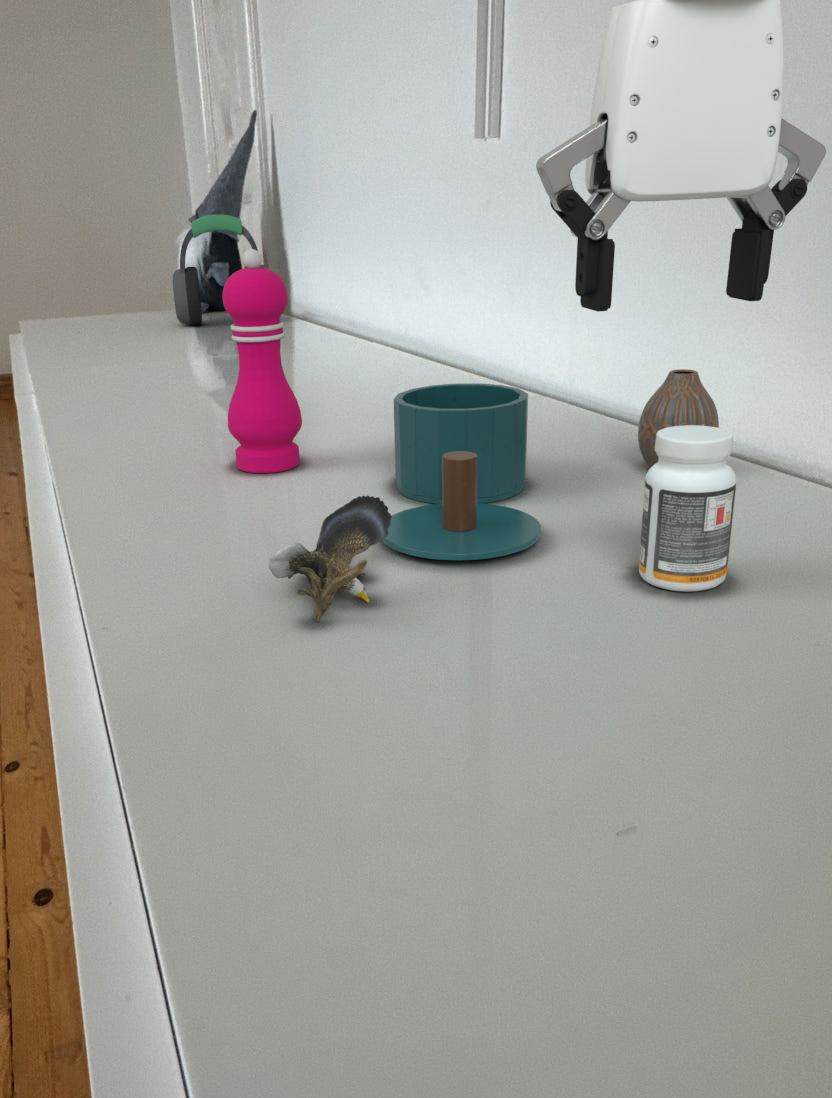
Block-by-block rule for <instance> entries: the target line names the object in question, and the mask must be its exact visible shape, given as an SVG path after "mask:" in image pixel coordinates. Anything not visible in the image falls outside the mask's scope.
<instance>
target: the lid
mask: <svg viewBox="0 0 832 1098" xmlns="http://www.w3.org/2000/svg"><path fill="white" fill-rule="evenodd" d="M477 460H478V456H477V454H476V453H473V452H468V451H454V452H448V453H445V454H443V455H442V504H434V503H431V504H427V505H421V506H416V507H411V508H407V509H404V510H401V511H399V512H397V513H393V514H391V516H392V518H391V521H390V522H391V525H390V527H389V528H388V535H387V537H385V538H384V539H383V540H382V541H381V542H383V543H384V545H385V546H387V547H388V548H390V549H392V550H394V551H397V552H398V553H401V554H405V555H408V556H413V557H416V558H417V557H418V558H422V559H430V560H438V561H439V560H441V561H477V560H486V559H495V558H499V557H504V556H509V555H513V554H516V553H519V552H521V551H524V550H526V549H529V548H530V547H532V546H533V545H535V544H536V543H537V542H538V541H539V539H541V536H542V535H541V534H542V526H541V523H540V521H539V520H538V519H537V518H536V517H534V516H533V515H531V514H529V513H528V512H525V511H522V510H519V509H516V508H513V507H508V506H503V505H499V504H492V503H477Z"/></svg>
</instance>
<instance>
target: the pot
mask: <svg viewBox="0 0 832 1098" xmlns="http://www.w3.org/2000/svg"><path fill="white" fill-rule="evenodd" d="M528 415H529V393H527V392H526V391H525V390H522V389H520V388H518V387H514V386H509V385H503V384H493V383H479V382H478V383H477V382H475V383H473V382H472V383H471V382H470V383H469V382H468V383H443V384H432V385H427V386H420V387H415V388H410V389H408V390H405V391H402V392H399V393H397V395H396V396H395V397H394V398H393V427H394V428H393V429H394V463H395V464H394V466H395V467H394V469H395V470H394V471H395V483H396V489H397V492H398V493H399V494H401V495H402V496H404V497H406V498H408V499H411V500H413V501H418V502H423V503H428V504H442V455H443V454H445V453H448V452H454V451H468V452H473V453H476V454H477V456H478V460H477V503H483V504H490V503H494V502H495V503H496V502H499V501H503V500H507V499H510V498H513V497H515V496H517V495H519V494H521V493H522V492H523V491H524V489H525V486H526V477H527V476H526V475H527V473H526V472H527V450H528V449H527V448H528V447H527V444H528Z"/></svg>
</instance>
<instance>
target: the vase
mask: <svg viewBox="0 0 832 1098" xmlns="http://www.w3.org/2000/svg"><path fill="white" fill-rule="evenodd" d="M686 425H698V426H710V427H717V428H720V421H719V413H718V410H717V407H716V404H715V401H714V400H713V398H712V396H711V395H710V393H709V392H708V391H707V389H706V388H705V386H704V385H703V383H702V381H701V378H700V375H699V372H698V371H697V370H694V369H686V368H685V369H683V368H682V369H681V368H680V369H673V370H670V371H669V372H668V374H667V376H666V378H665V379H664V381H663V382H662V384H661V385H660V386H659V387H658V388H657V389H656V390H655V392H653V394H652V395H651V397H650V398H649V399H648V400H647V402H646V403H645V405H644V408H643V409H642V411H641V414H640V418H639V421H638V429H637V441H638V448H639V452H640V454H641V457H642V458H643V460H644V462H645V463H646V464H647V465H648V467H649V468H651V467H652V466H653V465H654V464H656V463H657V462H658V459H659V456H657V452H656V451H655V442H656V434H657V432H658V431H659V430H661V429H664V428H667V427H674V426H686Z"/></svg>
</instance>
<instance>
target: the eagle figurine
mask: <svg viewBox="0 0 832 1098" xmlns="http://www.w3.org/2000/svg"><path fill="white" fill-rule="evenodd" d="M385 504H386V503H385V501H383V500H381V498H380V496H376V497H375V496H370V495H362V496H356V497H354V498H352V499H351V500H350V501H348V502H347V503H345V504H344V505H343V506H339V508H337V509H336V510H334V512H332V513H330V514H329V515H328V516H327V515H326V517H325V518H324V519H323V521H322V523H321V527H320V531H319V536H318V539H317V542H316V547H315V549H314V550H311V551H309V550H308V549H307V548H306V547H305V546H304V545H303V544H302V543H300V542H293V543H292V544H288V545H286V546H284V547H283V548H281V549H279V550H278V551H276V552H275V553H274V554H273V555H272V556H271V557H269V563H268V569H269V570H270V572H271V574H272V576H274V578H277V579H285V578H288V580H290V579H291V578H293V577H294V576H295V575H297V574H300V575H305V577H306V578H307V579H308V582H309V584H310V587H311V588H305V587H303V588H299V589H297V590H296V594H297V595H299V596H308V597H311V598H312V599H313V605H314V611H313V622H314V623H318V622H319V621H320V619H321V618H322V617H323V616H324V615H325V612H327V611H328V610H329V608H330V607H329V606H331V605H332V601H333V599H334V596H335V595H336V593H337V591H338V590H339V591H345V592H348V593H350V594H351V595H353V596H355V597H357V598H360V599H362V600H364V601H365V603H367V604H369V603H370V599H369V597H368V595H367V587H366V586H365V585H364V584H363V583H362V582H361V581H360V580H359V579H358V577H359V576H364V575H366V573H365V572H363V571H364V569H365V568H366V567H367V564H368V560H367V559H362V560H361V561H360V562H358V563H357V564H356V565H355V567H352V568H351V563H352V561H353V558H354V557H355V556H357V555H359V554H361V553H364V552H366V551H368V550H369V549H370V547H372V546H373V545H377V544H378V543H381V542H383V541H382V540H383V539H384V538H385V537H387V535H388V528H389V527H390V525H391V522H390V521H391V518H392V514H391V513H390V512H389V507H388V506H387V505H385Z"/></svg>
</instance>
